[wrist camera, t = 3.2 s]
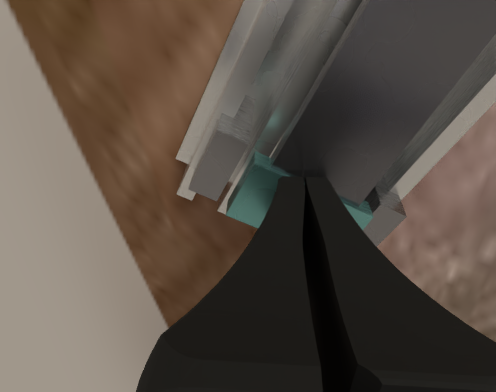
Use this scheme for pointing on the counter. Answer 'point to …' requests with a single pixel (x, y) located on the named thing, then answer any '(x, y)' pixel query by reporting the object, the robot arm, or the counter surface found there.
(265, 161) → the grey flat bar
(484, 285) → the counter surface
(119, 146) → the counter surface
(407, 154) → the heat sink
